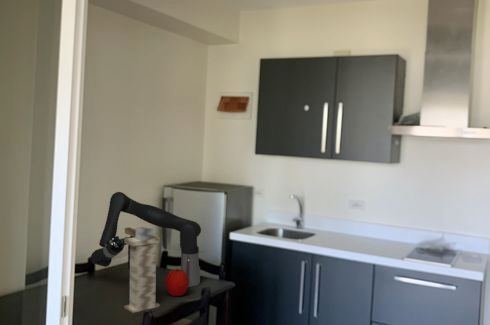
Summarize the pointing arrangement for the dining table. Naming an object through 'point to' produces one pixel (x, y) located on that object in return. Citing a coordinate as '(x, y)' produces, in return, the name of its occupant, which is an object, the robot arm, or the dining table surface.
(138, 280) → the birch plinth
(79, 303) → the dining table surface
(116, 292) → the dining table surface
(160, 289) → the dining table surface
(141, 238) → the mallet
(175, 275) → the tomato
